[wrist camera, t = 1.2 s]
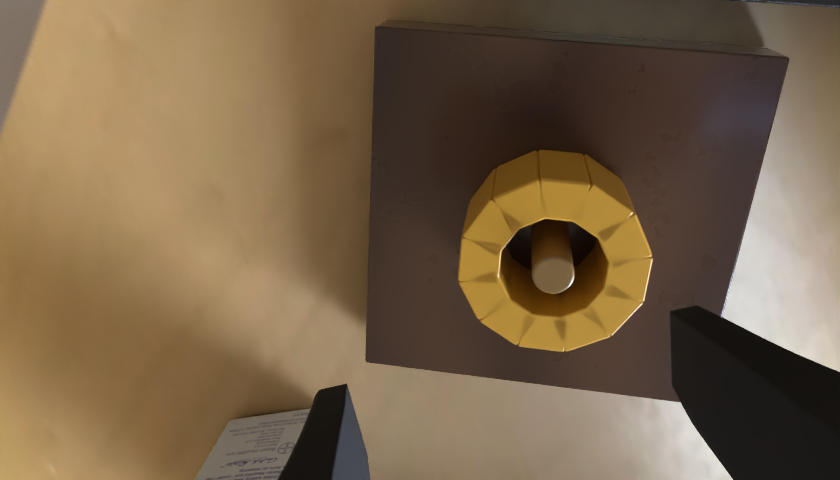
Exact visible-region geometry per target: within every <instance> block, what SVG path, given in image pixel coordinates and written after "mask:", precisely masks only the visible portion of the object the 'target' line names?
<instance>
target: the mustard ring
mask: <svg viewBox="0 0 840 480" xmlns="http://www.w3.org/2000/svg"><path fill="white" fill-rule="evenodd" d="M543 219H552V220H562V221H571V222H575V223H576V224H577V225H579V226H580V227H582V228H583V229H585V230H586V231H588V232H589V233H591V234H592V235H593V236H595V237H596V242H595V247H594V249H593V250H592V251H591V252H590V253H589V254H588V255H587V257H586V258H585V259H584V260H583V261H582V262H581V263H580V265H578V266H576V267H574V272H575V277H574V280H573V283H572V284H571V285H570V287H569V288H567V289H566V290H565V291H563V292H560V293H555V294H551V293H546V292H544V291H542V290H540V289H539V288H538V287H537V286H536V285H535V284H534V282H533V280H532V271H530V270H529V269H527V268H526V267H524V266H523V265H521V264H520V263H518V262H517V261H516V260H514V259H513V258H512V257H511V255H510V253H509V251H508V249H507V246H506V245H507V244H508V243H509V241H510V240H511V239H512V238H513V236H514V235H515V234H516V233H517V231H518V230H519V229H521V228H523V227H526V226H528V225H531V224H533V223H536V222H538V221H541V220H543ZM652 261H653V258H652V252H651V249H650V247H649V244H648V242H647V239H646V237H645V234H644V232H643V229H642V227H641V224H640V222H639V219H638V217H637V214H636V212H635V210H634V207H633V205H632V202H631V200H630V198H629V195H628V193H627V190H626V188H625V186H624V183H623V182H622V181H621V179H620V178H619V177H618V176H616V175H615V174H613V173H612V172H611V171H609V170H608V169H606V168H605V167H603V166H602V165H601V164H599V163H598V162H596V161H595V160H594V159H592V158H591V157H589V156H588V155H586V154H585V155H584V156H583V154H581V153H572V152H561V151H551V150H539V151H538V152H537V151H532V152H530V153H528V154H525V155H523V156H521V157H518V158H516V159H514V160H512V161H509V162H507V163H505V164H502V165H500V166H498V167H497V169H493V171H492V172H491V173H490V175H489V176H488V177H487V179H486V180H485V181H484V183H483V184H482V185H481V187H480V188H479V189H478V191H477V192H476V193H475V195H474V196H473V197H472V199H471V200H470V203H469V205H468V210H467V214H466V219H465V223H464V228H463V232H462V237H461V245H460V257H459V269H458V280H459V285H460V287H461V289H462V290H463V292H464V294H465V296H466V298H467V300H468V302H469V304H470V306H471V308H472V310H473V312H474V314H475V315H476V317H477V319H480V322H481V323H483V324H484V325H486V326H487V327H489V328H490V329H492V330H493V331H495V332H496V333H498V334H500V335H501V336H503V337H504V338H506V339H507V340H509V341H510V342H512V343H513V344H515V345H517V344H518V346H519V347H527V348H535V349H543V350H551V351H560V352H564V350H565V351H570V350H573V349H576V348H579V347H582V346H585V345H588V344H591V343H594V342H597V341H600V340H603V339H606V338H609V337H610V335H611V336H612V335H613V334H614V333H615V332H616V331H617V330H618V329H619V328H620V327H621V326H622V325H623V324H624V323H625V322H626V321H627V319H628V318H629V317H630V316H631V315H632V314H633V313H634V312H635V311H636V310H637V309H638V308H639V307H640V306H641V305H642V303H643V302H642V301H644V299H645V294H646V290H647V285H648V280H649V275H650V270H651V266H652Z"/></svg>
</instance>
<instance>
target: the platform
mask: <svg viewBox="0 0 840 480" xmlns="http://www.w3.org/2000/svg"><path fill="white" fill-rule="evenodd" d="M788 63H789V58H788V57H786V56H784V55H782V54H780V53H777V52H775V51H773V50H771V49H768V48H762V47H748V46H735V45H721V44H708V43H694V42H681V41H667V40H654V39H640V38H627V37H613V36H600V35H586V34H573V33H559V32H546V31H532V30H519V29H505V28H492V27H478V26H465V25H451V24H438V23H424V22H411V21H397V20H387V21H385V22H383V23H382V24H380V25H378V26H376V27H375V45H374V79H373V114H372V149H371V184H370V219H369V254H368V288H367V323H366V358H365V360H366V362H369V363H377V364H385V365H393V366H400V367H408V368H416V369H424V370H432V371H440V372H447V373H455V374H463V375H471V376H479V377H487V378H495V379H502V380H510V381H518V382H526V383H534V384H542V385H549V386H557V387H565V388H573V389H581V390H589V391H597V392H604V393H612V394H620V395H628V396H636V397H644V398H651V399H659V400H667V401H675V402H680V400H679V398H678V396H677V394H676V392H675V390H674V389H673V387H672V372H671V335H670V311H673V310H677V309H682V308H686V307H691V306H695V305H698V306H700V307H702V308H704V309H706V310H708V311H711V312H713V313H715V314H716V315H718V316H720V317H722V315H723V311H724V307H725V304H726V300H727V296H728V292H729V288H730V285H731V281H732V277H733V273H734V269H735V265H736V262H737V258H738V254H739V250H740V246H741V243H742V239H743V235H744V231H745V227H746V223H747V220H748V216H749V212H750V208H751V204H752V201H753V197H754V193H755V189H756V185H757V182H758V178H759V174H760V170H761V166H762V162H763V159H764V155H765V151H766V147H767V143H768V140H769V136H770V132H771V128H772V124H773V121H774V117H775V113H776V109H777V105H778V101H779V98H780V94H781V90H782V86H783V82H784V79H785V75H786V71H787V67H788ZM539 150H551V151H561V152H572V153H581V154H583V156H584V155H585V154H586V155H588V156H589V157H591V158H592V159H594V160H595V161H596V162H598V163H599V164H601V165H602V166H603V167H605V168H606V169H608V170H609V171H611V172H612V173H613V174H615V175H616V176H618V177H619V178H620V179H621V181H622V182H623V183H624V186H625V188H626V190H627V193H628V195H629V198H630V200H631V202H632V205H633V207H634V210H635V212H636V214H637V217H638V219H639V222H640V224H641V227H642V229H643V232H644V234H645V237H646V239H647V242H648V244H649V247H650V249H651V252H652V258H653V261H652V266H651V270H650V275H649V280H648V285H647V290H646V294H645V299H644V301H642V302H643V303H642V305H641V306H640V307H639V308H638V309H637V310H636V311H635V312H634V313H633V314H632V315H631V316H630V317H629V318H628V319H627V321H626V322H625V323H624V324H623V325H622V326H621V327H620V328H619V329H618V330H617V331H616V332H615V333H614V334H613V335H612V336H611V335H610V337H609V338H606V339H603V340H600V341H597V342H594V343H591V344H588V345H585V346H582V347H579V348H576V349H573V350H570V351H565V350H564V352H560V351H551V350H543V349H535V348H527V347H519V346H518V344H517V345H515V344H513V343H512V342H510V341H509V340H507V339H506V338H504V337H503V336H501V335H500V334H498V333H496V332H495V331H493V330H492V329H490V328H489V327H487V326H486V325H484V324H483V323H481V322H480V319H477V317H476V315H475V314H474V312H473V310H472V308H471V306H470V304H469V302H468V300H467V298H466V296H465V294H464V292H463V290H462V289H461V287H460V285H459V280H458V269H459V257H460V245H461V237H462V232H463V228H464V223H465V219H466V214H467V210H468V205H469V203H470V200H471V199H472V197H473V196H474V195H475V193H476V192H477V191H478V189H479V188H480V187H481V185H482V184H483V183H484V181H485V180H486V179H487V177H488V176H489V175H490V173H491V172H492V171H493V169H497V167H498V166H500V165H502V164H505V163H507V162H509V161H512V160H514V159H516V158H518V157H521V156H523V155H525V154H528V153H530V152H532V151H537V152H538V151H539ZM595 242H596V237H595V236H593V235H592V234H591V233H589V232H588V231H586V230H585V229H583V228H582V227H580V226H579V225H577V224H576V223H575V222H571V221H562V220H552V219H543V220H541V221H538V222H536V223H533V224H531V225H528V226H526V227H523V228H521V229H519V230H518V231H517V233H516V234H515V235H514V236H513V238H512V239H511V240H510V241H509V243H508V244H507V245H506V246H507V249H508V251H509V253H510V255H511V257H512V258H513V259H514V260H516V261H517V262H518V263H520V264H521V265H523V266H524V267H526V268H527V269H529V270H530V271H532V280H533V282H534V284H535V285H536V286H537V287H538V288H539V289H540V290H542V291H544V292H546V293H551V294H555V293H560V292H563V291H565V290H566V289H567V288H569V287H570V285H571V284H572V283H573V280H574V277H575V272H574V267H576V266H578V265H580V263H581V262H582V261H583V260H584V259H585V258H586V257H587V255H588V254H589V253H590V252H591V251H592V250H593V249H594V247H595Z"/></svg>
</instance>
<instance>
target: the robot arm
mask: <svg viewBox="0 0 840 480" xmlns="http://www.w3.org/2000/svg"><path fill="white" fill-rule="evenodd" d="M670 335H671V372H672V387H673V389H674V390H675V392H676V394H677V396H678V398H679V400H680V402H681V404H682V406H683V407H684V409H685V411H686V413H687V415H688V416H689V418H690V420H691V422H692V423H693V425H694V426H695V428H696V429H697V431H698V432H699V433H700V435H701V436H702V438H703V439H704V440H705V442H706V443H707V445H708V446H709V447H710V449H711V450H712V451H713V453H714V454H715V455H716V457H717V458H718V460H719V461H720V462H721V464H722V465H723V466H724V468H725V469H726V470H727V472H728V473H729V474H730V476H731V477H732V478H733V480H840V372H838V371H836V370H833V369H830V368H828V367H825V366H823V365H821V364H818V363H816V362H814V361H811V360H809V359H807V358H804V357H802V356H800V355H797V354H795V353H793V352H791V351H789V350H787V349H784V348H782V347H780V346H778V345H776V344H774V343H772V342H770V341H768V340H766V339H764V338H762V337H760V336H758V335H756V334H754V333H752V332H750V331H748V330H746V329H744V328H742V327H740V326H738V325H736V324H734V323H732V322H730V321H728V320H726V319H724V318H722V317H720V316H718V315H716V314H715V313H713V312H711V311H708V310H706V309H704V308H702V307H700V306H698V305H695V306H691V307H686V308H682V309H677V310H673V311H670ZM277 480H370V472H369V464H368V456H367V452H366V448H365V445H364V442H363V438H362V435H361V431H360V428H359V424H358V421H357V417H356V414H355V410H354V407H353V403H352V400H351V396H350V393H349V389H348V386H347V384H343V385H339V386H334V387H330V388H325V389H321V390H319V391H318V392H317V394H316V395H315V398H314V401H313V404H312V406H311V409H310V412H309V414H308V417H307V419H306V422H305V424H304V426H303V429H302V431H301V433H300V436H299V438H298V440H297V442H296V444H295V446H294V448H293V450H292V453H291V455H290V457H289V459H288V461H287V463H286V465H285V467H284V469H283V470H282V472H281V474H280V476H279V478H278V479H277Z"/></svg>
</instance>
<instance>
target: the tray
mask: <svg viewBox="0 0 840 480" xmlns="http://www.w3.org/2000/svg"><path fill="white" fill-rule="evenodd" d="M731 1H746V2H761V3H776V4H791V5H805V6H820V7H835V8H840V0H731Z"/></svg>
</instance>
